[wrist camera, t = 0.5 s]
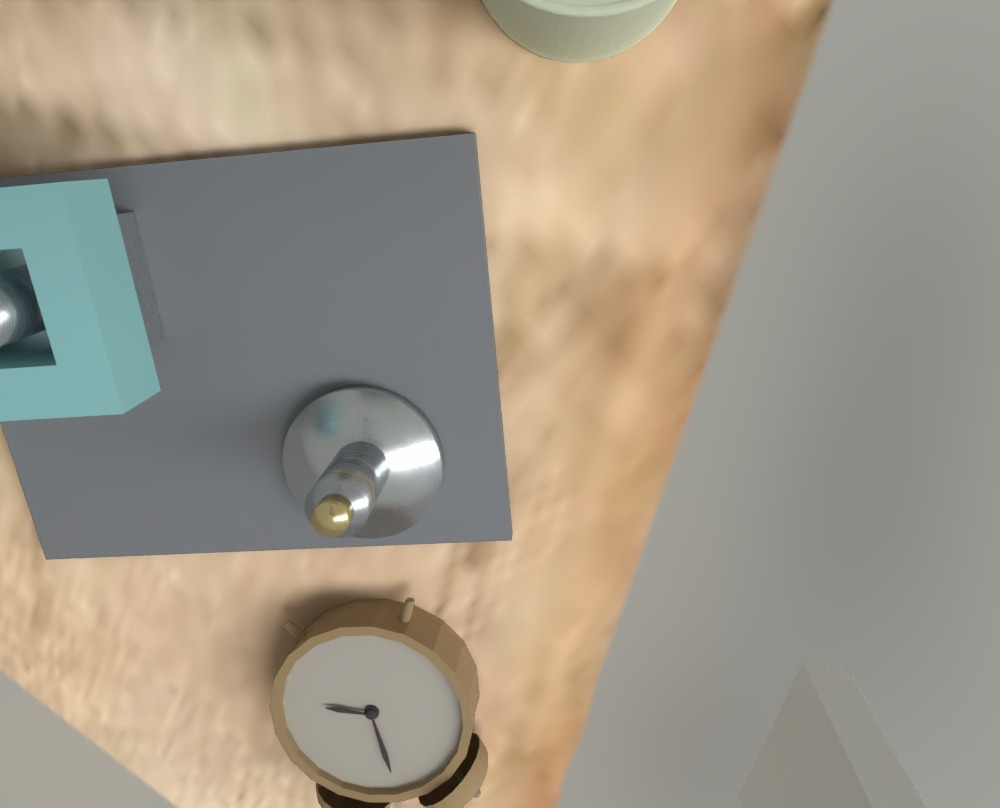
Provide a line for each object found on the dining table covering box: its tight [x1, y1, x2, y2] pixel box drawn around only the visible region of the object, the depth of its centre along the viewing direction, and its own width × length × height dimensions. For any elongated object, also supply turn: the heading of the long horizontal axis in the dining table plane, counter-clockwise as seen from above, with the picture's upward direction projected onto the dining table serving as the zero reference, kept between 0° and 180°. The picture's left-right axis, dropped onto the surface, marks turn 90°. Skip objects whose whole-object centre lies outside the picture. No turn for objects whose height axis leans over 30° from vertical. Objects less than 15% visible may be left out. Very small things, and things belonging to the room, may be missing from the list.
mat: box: [0, 133, 512, 559], centre depth 36 cm, size 20×26×1 cm
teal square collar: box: [0, 179, 161, 421], centre depth 30 cm, size 9×9×3 cm
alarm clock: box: [270, 598, 488, 808], centre depth 42 cm, size 11×5×15 cm
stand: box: [0, 212, 166, 353], centre depth 31 cm, size 6×6×8 cm
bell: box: [283, 385, 445, 539], centre depth 34 cm, size 8×8×6 cm
